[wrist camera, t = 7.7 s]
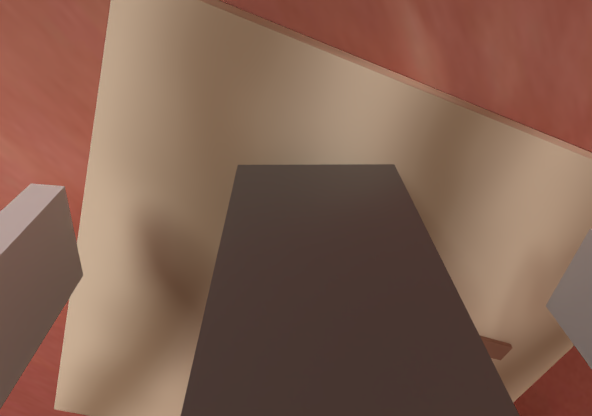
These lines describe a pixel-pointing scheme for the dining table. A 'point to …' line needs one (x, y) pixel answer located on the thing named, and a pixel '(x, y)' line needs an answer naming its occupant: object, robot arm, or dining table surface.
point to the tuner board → (291, 151)
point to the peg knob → (335, 305)
